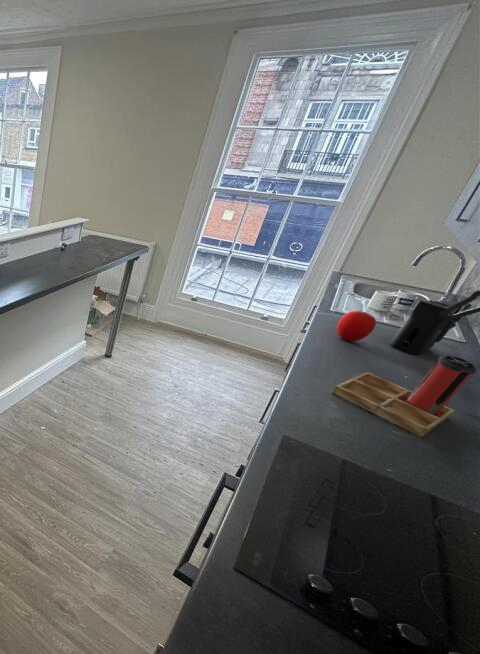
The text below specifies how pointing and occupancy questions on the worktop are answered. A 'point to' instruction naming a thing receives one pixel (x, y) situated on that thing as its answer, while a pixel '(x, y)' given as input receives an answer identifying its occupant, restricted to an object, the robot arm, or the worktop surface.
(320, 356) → the worktop surface
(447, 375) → the speaker
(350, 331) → the red egg shape
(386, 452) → the worktop surface
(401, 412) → the wooden divided tray
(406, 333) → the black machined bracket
